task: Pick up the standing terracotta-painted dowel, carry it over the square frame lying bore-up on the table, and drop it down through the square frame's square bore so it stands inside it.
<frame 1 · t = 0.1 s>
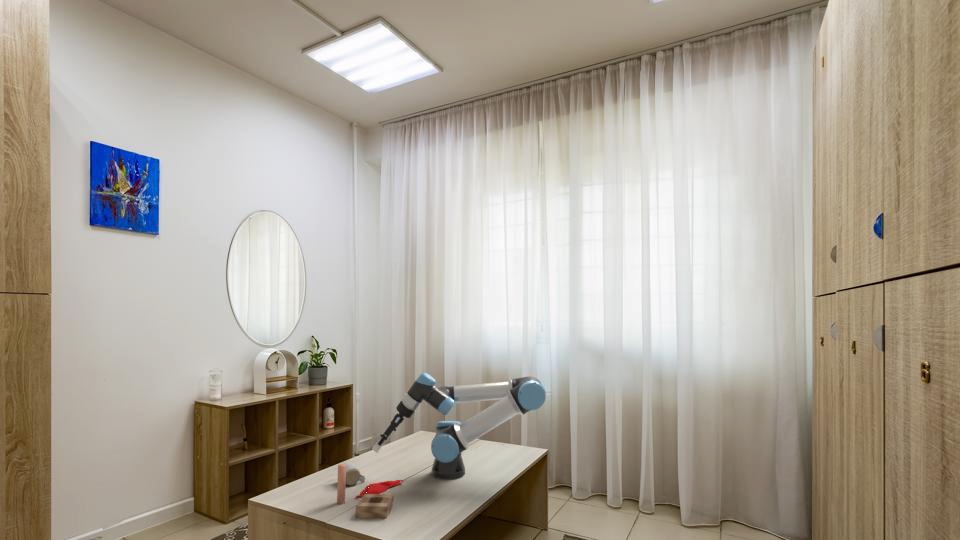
hand: (378, 446, 204), 15 cm above the table, tool tilted 35°, fingers open, 13 cm apart
cloth: (379, 490, 198), on the table
ceramic mug: (352, 483, 204), on the table
dowel: (341, 502, 183), on the table
square frame: (375, 511, 176), on the table
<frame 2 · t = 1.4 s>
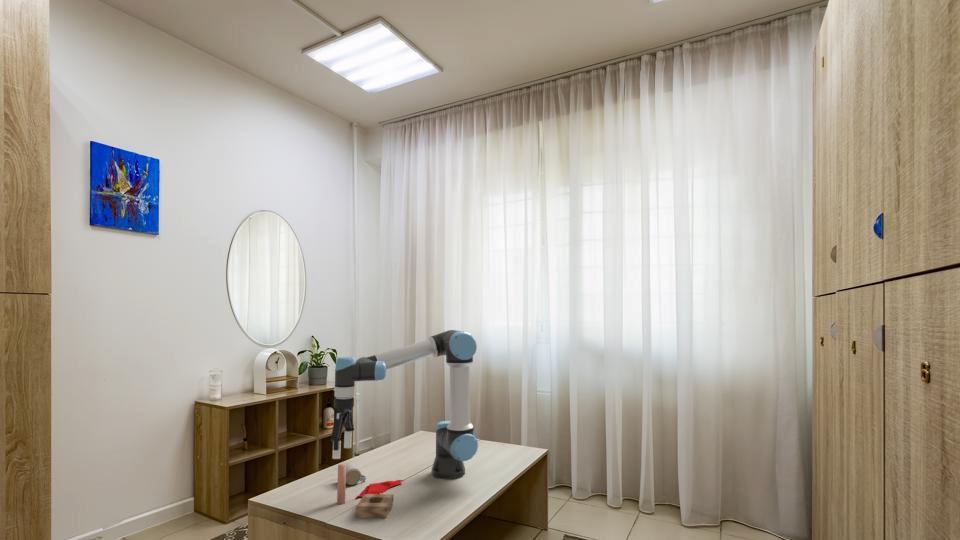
hand: (342, 453, 184), 18 cm above the table, tool pointing down, fingers open, 13 cm apart
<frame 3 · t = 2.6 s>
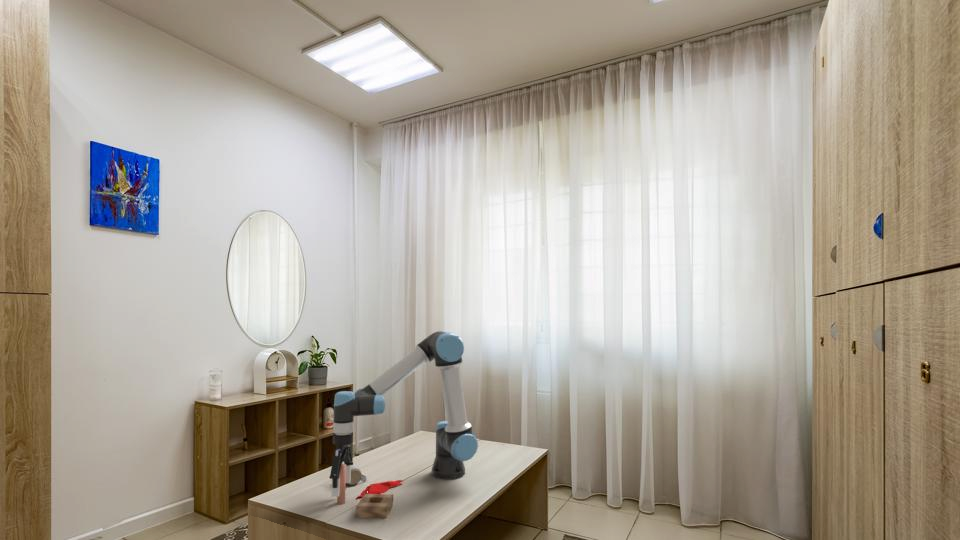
hand: (341, 489, 183), 5 cm above the table, tool pointing down, fingers open, 13 cm apart
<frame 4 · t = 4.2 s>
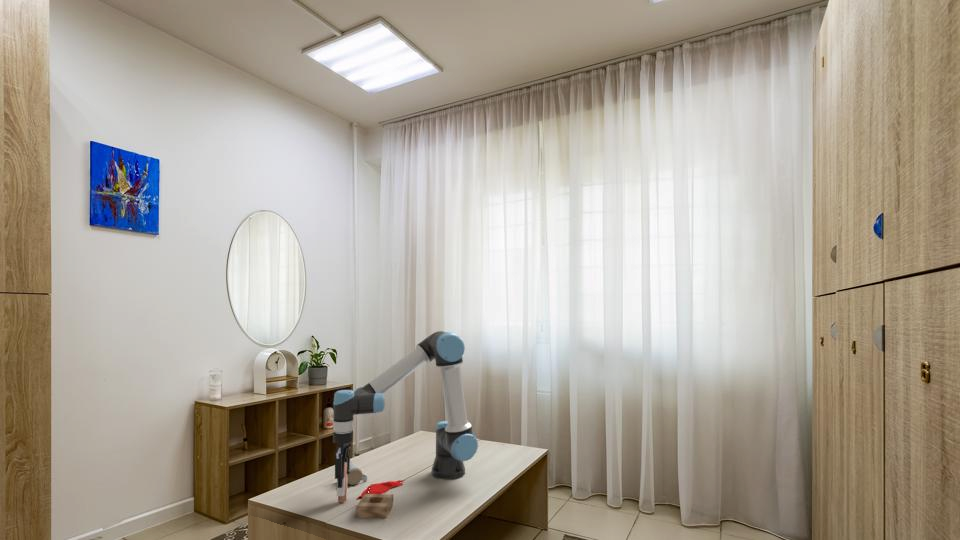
hand: (342, 493, 183), 3 cm above the table, tool pointing down, fingers closed on dowel, 3 cm apart
dowel: (342, 500, 183), point 1 cm above the table, touching gripper
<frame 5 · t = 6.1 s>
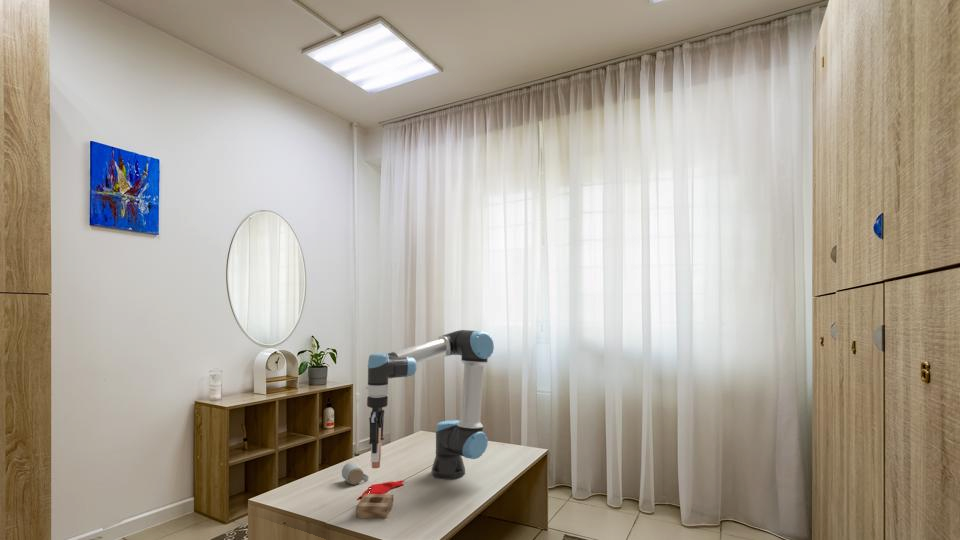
hand: (375, 459, 177), 18 cm above the table, tool pointing down, fingers closed on dowel, 3 cm apart
dowel: (375, 467, 177), point 16 cm above the table, touching gripper
when the fingers open (5 cm above the table, at t = 8.2 s): dowel stays where it is, resting in square frame.
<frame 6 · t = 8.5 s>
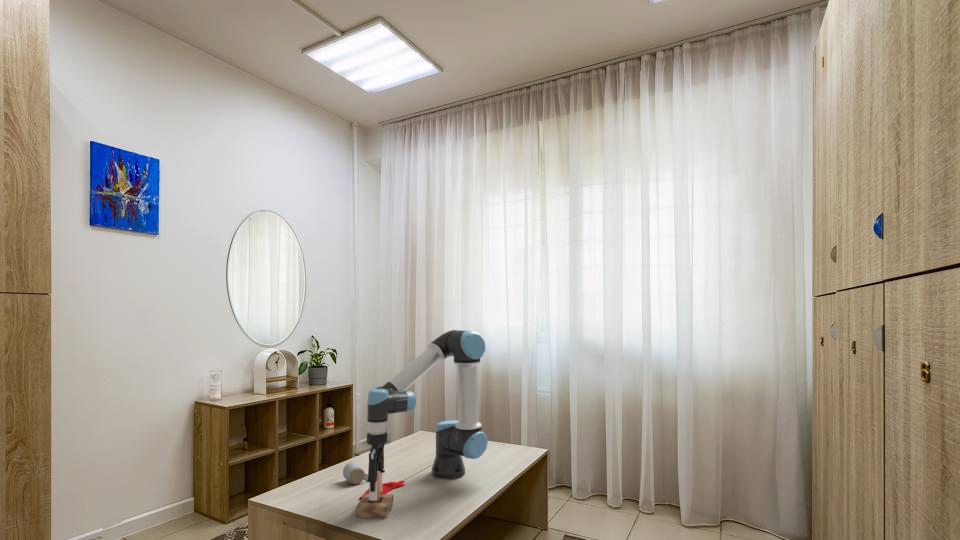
hand: (375, 495, 176), 6 cm above the table, tool pointing down, fingers open, 7 cm apart
dowel: (375, 511, 176), resting in square frame
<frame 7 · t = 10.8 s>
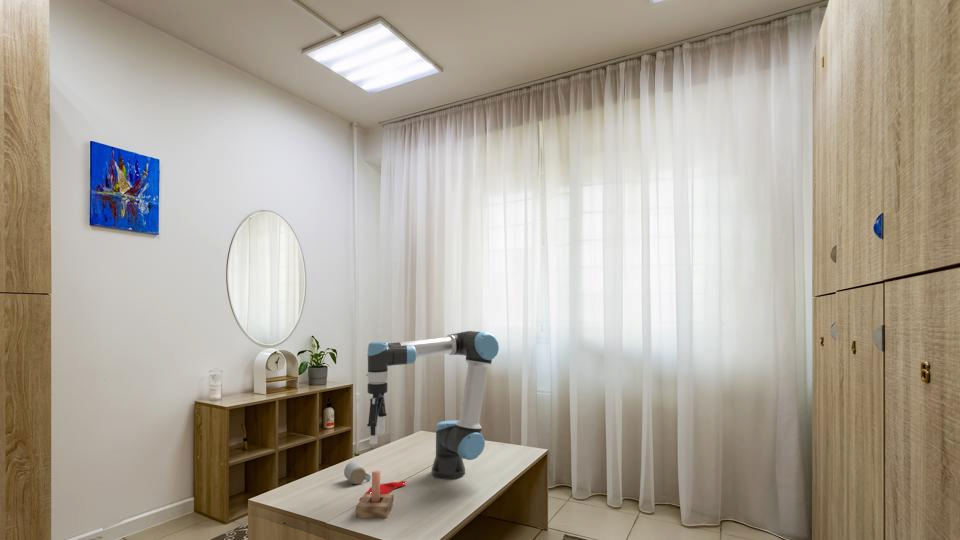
hand: (377, 438, 183), 25 cm above the table, tool pointing down, fingers open, 13 cm apart
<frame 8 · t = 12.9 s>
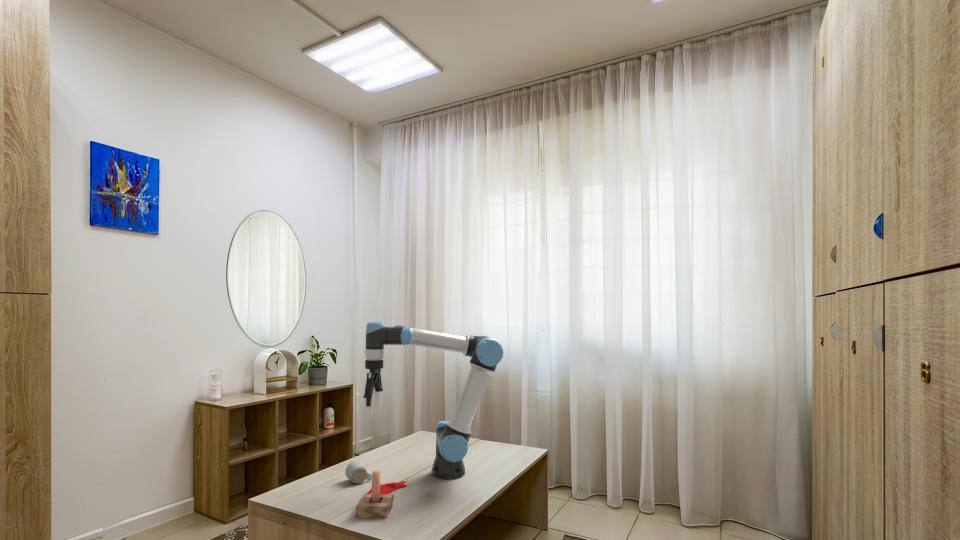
hand: (373, 410, 199), 32 cm above the table, tool pointing down, fingers open, 13 cm apart
at the end: dowel 0.0 cm off-centre on the square frame, point 0.0 cm above the square frame's base; dowel tilted 0°; the gripper is holding nothing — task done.
